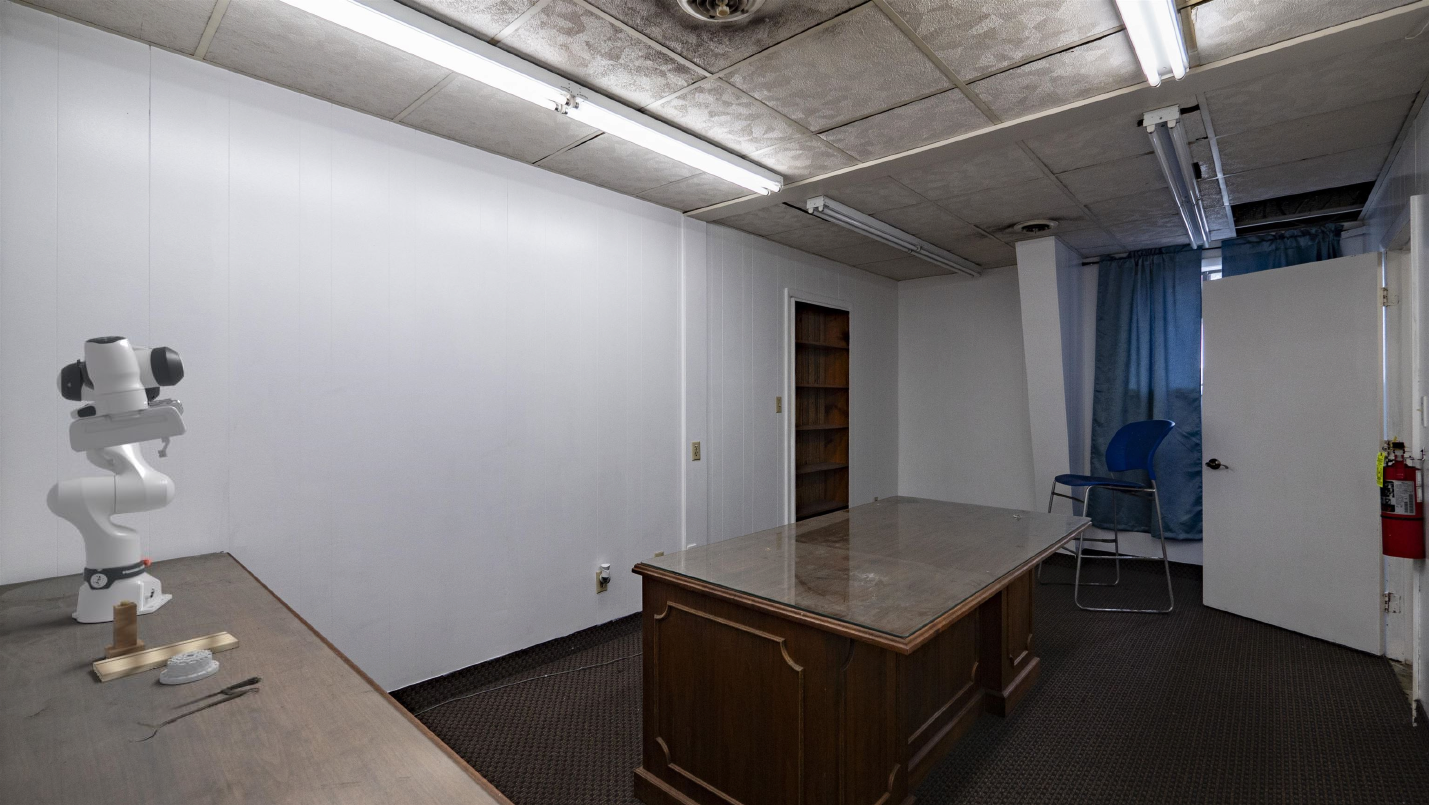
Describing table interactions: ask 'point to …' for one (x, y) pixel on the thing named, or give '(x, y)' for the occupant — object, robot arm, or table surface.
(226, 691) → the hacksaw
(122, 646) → the wooden peg post
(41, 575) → the table surface
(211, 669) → the mechanical component
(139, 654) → the plank
